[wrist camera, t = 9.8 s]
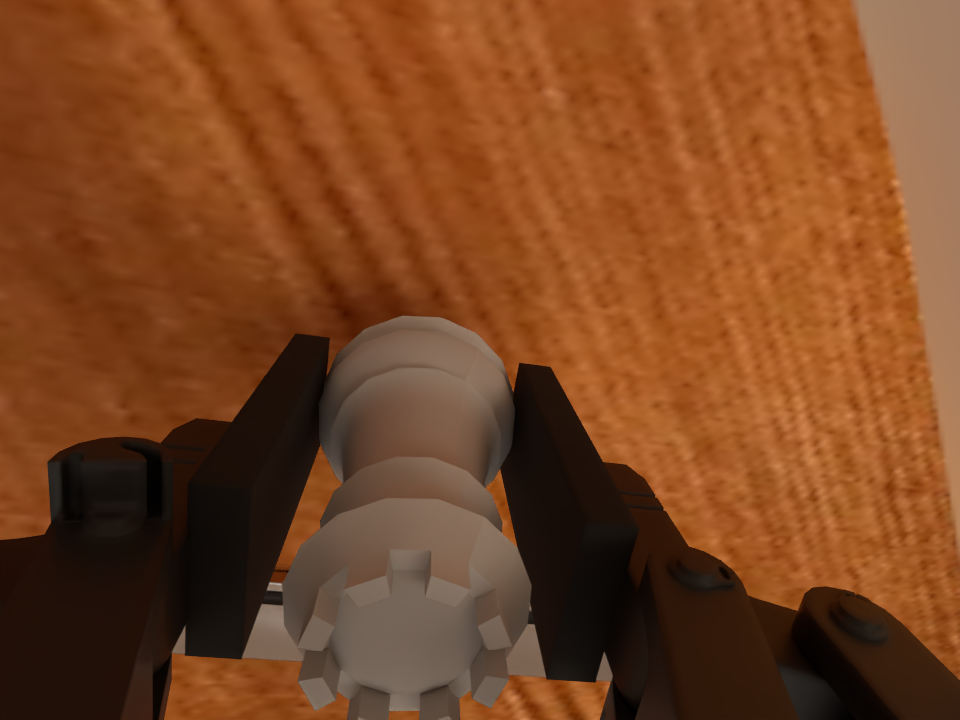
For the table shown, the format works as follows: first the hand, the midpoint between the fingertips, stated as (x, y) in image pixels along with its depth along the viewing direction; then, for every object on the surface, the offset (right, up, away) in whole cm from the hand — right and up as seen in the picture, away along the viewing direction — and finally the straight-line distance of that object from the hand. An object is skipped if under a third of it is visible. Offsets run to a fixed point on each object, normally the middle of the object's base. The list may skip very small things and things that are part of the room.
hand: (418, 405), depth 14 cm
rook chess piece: (0, 0, 0) cm, 0 cm away
